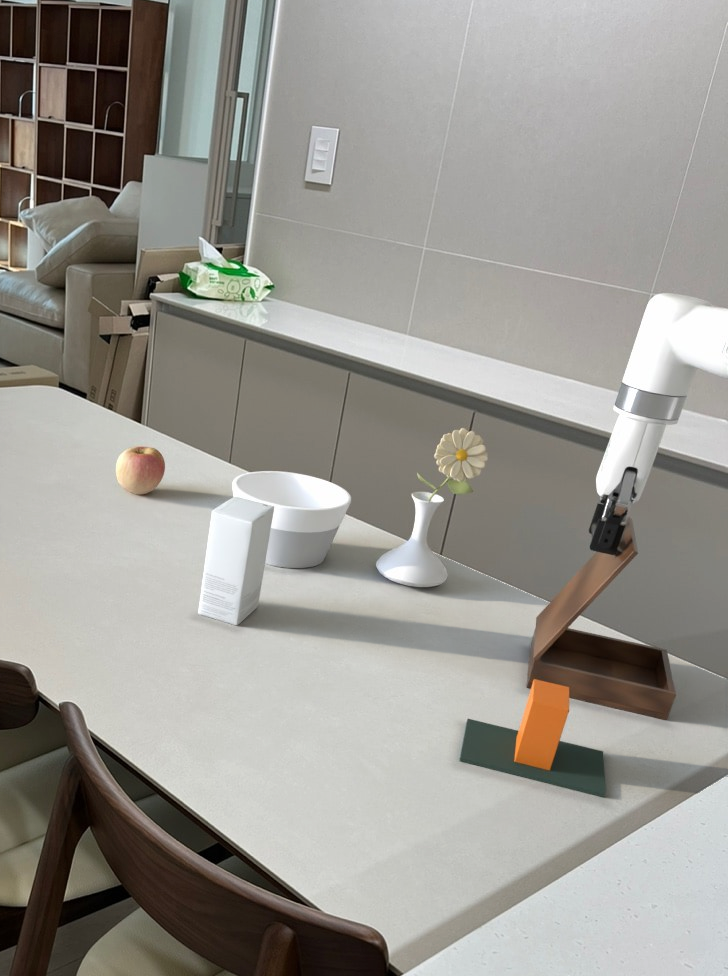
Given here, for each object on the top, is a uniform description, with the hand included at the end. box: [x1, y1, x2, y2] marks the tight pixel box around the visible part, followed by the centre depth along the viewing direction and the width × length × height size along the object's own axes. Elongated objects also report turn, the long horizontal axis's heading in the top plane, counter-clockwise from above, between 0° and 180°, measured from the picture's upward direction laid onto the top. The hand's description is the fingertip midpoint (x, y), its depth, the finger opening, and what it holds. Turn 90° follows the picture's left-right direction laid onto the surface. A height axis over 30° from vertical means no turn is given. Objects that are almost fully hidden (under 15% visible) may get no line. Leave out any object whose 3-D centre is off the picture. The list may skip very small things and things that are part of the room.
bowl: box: [231, 470, 352, 569], centre depth 172 cm, size 19×19×11 cm
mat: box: [459, 718, 606, 798], centre depth 123 cm, size 16×10×1 cm, turn 72°
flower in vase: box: [375, 427, 489, 588], centre depth 164 cm, size 13×11×25 cm
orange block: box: [514, 679, 570, 770], centre depth 121 cm, size 4×6×8 cm, turn 162°
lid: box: [533, 516, 639, 661], centre depth 139 cm, size 18×15×4 cm
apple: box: [115, 445, 166, 495], centre depth 192 cm, size 9×9×8 cm
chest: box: [526, 626, 677, 721], centre depth 143 cm, size 18×15×4 cm
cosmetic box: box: [197, 495, 274, 626], centre depth 147 cm, size 8×7×16 cm
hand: (601, 542), depth 136 cm, fingers closed on lid, 6 cm apart
